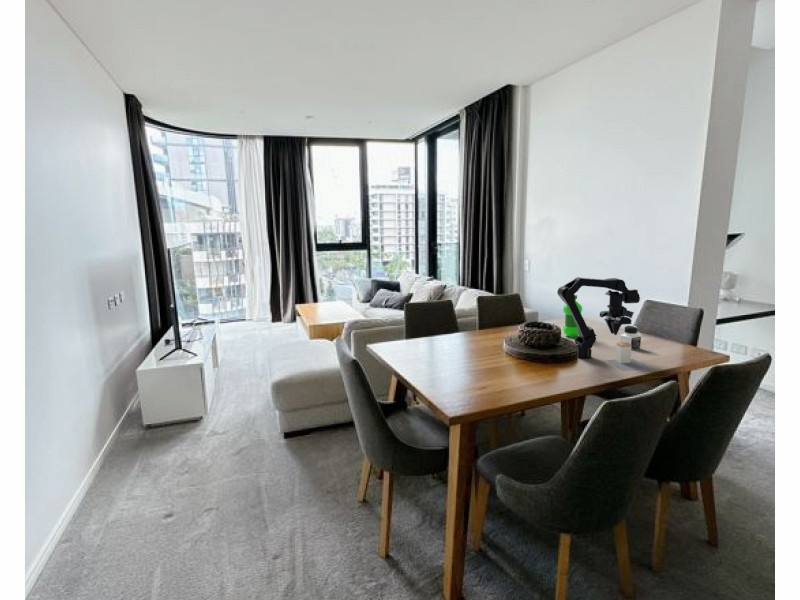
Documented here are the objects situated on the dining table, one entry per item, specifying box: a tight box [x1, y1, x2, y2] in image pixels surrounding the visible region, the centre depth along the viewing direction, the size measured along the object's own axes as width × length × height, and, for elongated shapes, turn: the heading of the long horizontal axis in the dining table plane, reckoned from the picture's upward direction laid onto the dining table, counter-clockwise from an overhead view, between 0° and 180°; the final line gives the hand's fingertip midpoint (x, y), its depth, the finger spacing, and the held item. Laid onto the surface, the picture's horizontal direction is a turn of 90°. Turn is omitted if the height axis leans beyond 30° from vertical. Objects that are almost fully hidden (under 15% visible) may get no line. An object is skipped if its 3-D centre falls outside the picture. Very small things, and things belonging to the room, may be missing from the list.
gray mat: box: [605, 358, 653, 371], centre depth 196 cm, size 14×15×1 cm
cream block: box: [615, 342, 632, 363], centre depth 199 cm, size 5×4×9 cm
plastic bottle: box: [562, 294, 583, 338], centre depth 247 cm, size 10×10×25 cm
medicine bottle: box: [619, 325, 642, 350], centre depth 221 cm, size 7×7×12 cm
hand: (613, 334), depth 206 cm, fingers open, 2 cm apart
